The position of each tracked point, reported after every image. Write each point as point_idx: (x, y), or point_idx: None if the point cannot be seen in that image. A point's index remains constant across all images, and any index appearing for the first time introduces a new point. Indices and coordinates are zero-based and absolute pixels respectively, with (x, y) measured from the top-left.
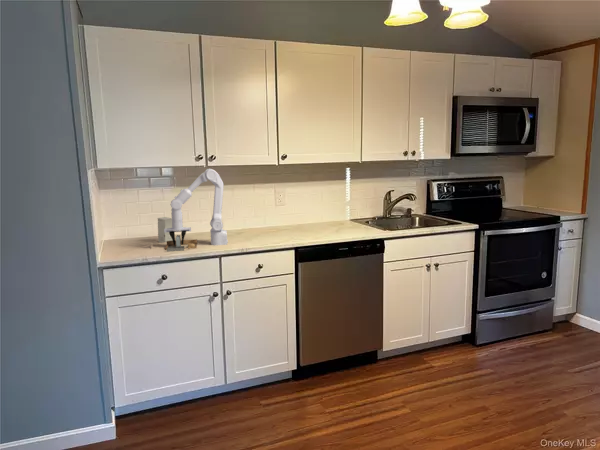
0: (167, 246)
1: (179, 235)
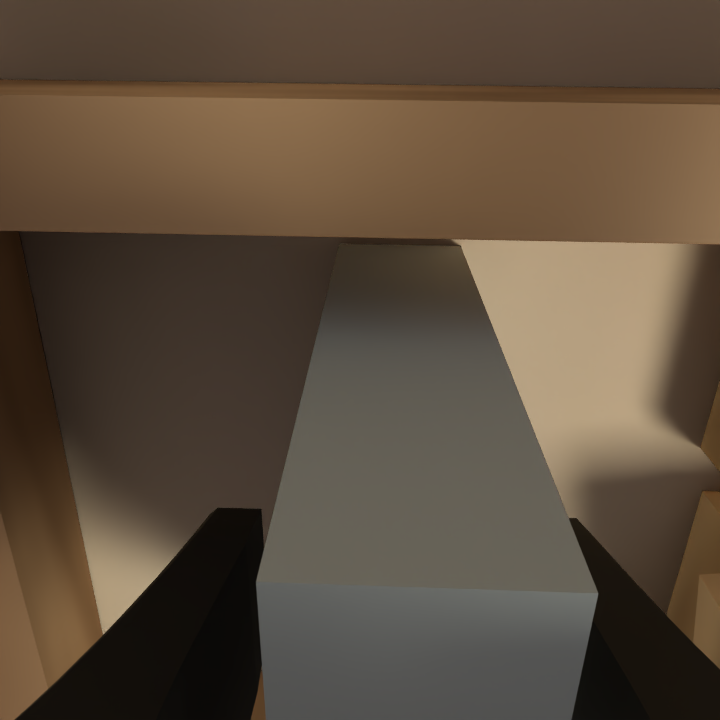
0: (24, 640)
1: (516, 709)
